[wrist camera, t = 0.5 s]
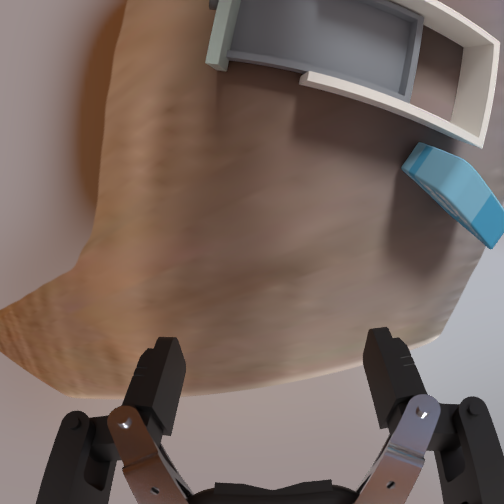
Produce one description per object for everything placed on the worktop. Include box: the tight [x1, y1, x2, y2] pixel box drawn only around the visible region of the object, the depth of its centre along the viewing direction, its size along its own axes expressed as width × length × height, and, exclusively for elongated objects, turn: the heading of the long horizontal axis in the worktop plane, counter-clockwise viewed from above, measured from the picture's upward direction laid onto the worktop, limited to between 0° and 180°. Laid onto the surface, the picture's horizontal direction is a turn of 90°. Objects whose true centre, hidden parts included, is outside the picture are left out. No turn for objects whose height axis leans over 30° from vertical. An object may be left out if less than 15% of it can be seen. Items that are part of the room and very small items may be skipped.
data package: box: [401, 142, 504, 249], centre depth 29 cm, size 12×4×12 cm, turn 59°
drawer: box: [205, 0, 424, 103], centre depth 23 cm, size 15×23×7 cm, turn 80°
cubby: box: [299, 0, 500, 148], centre depth 24 cm, size 15×22×7 cm
